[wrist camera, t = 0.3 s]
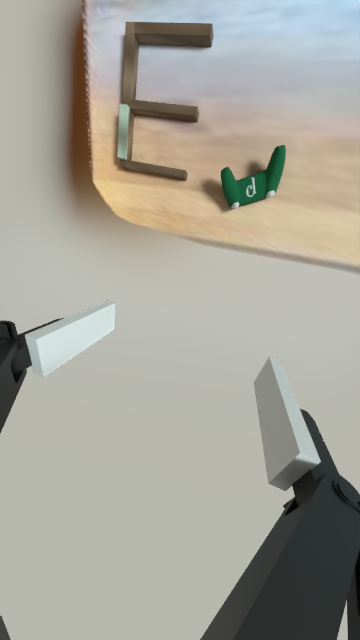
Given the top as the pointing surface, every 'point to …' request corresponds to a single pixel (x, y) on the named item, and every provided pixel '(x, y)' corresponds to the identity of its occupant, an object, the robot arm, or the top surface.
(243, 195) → the gaming controller
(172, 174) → the letter e shape
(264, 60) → the top surface
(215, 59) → the top surface
